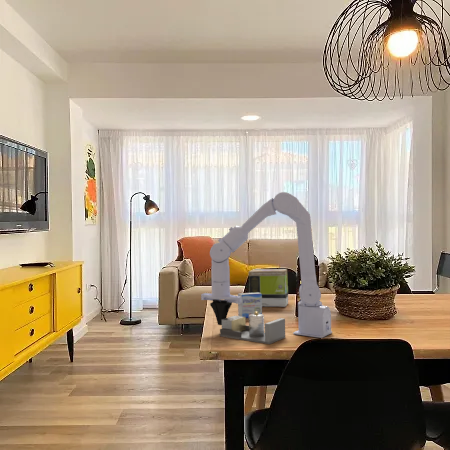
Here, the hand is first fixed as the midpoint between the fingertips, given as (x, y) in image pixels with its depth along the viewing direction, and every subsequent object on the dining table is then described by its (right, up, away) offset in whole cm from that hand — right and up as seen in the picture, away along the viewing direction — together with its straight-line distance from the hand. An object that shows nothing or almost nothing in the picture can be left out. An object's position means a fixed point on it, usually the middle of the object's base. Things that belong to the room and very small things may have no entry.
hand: (221, 324), depth 146 cm
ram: (+4, -2, -3) cm, 5 cm away
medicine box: (+10, -3, +24) cm, 26 cm away
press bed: (+9, -2, -7) cm, 12 cm away
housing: (+11, -2, -8) cm, 13 cm away
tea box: (+20, -2, +48) cm, 52 cm away
